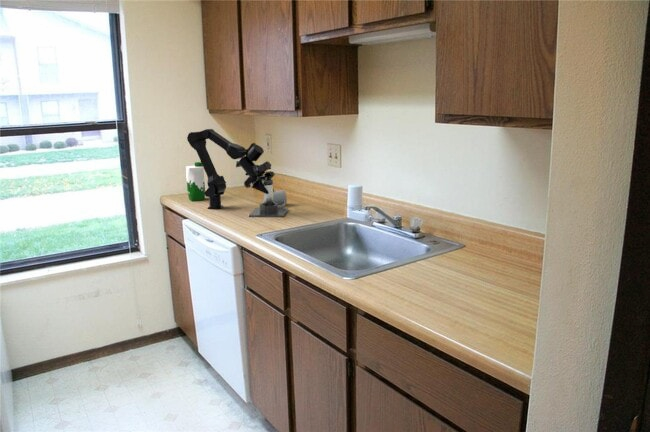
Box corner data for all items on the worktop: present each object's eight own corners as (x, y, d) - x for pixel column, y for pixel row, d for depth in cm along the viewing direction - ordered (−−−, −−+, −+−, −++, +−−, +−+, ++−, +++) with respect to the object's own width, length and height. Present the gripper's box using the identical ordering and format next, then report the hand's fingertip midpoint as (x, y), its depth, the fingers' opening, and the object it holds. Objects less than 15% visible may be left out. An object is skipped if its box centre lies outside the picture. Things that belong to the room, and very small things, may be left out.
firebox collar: (255, 209, 252) (255, 200, 251) (288, 209, 251) (288, 201, 250) (248, 216, 236) (248, 207, 235) (283, 217, 235) (283, 207, 234)
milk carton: (206, 200, 276) (204, 163, 272) (189, 201, 273) (187, 164, 268) (203, 197, 284) (201, 161, 280) (186, 199, 280) (184, 162, 276)
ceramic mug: (267, 204, 264) (266, 189, 262) (282, 203, 267) (282, 188, 265) (273, 208, 254) (273, 193, 252) (289, 207, 257) (289, 192, 255)
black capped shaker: (262, 205, 244) (262, 179, 241) (271, 205, 245) (271, 179, 243) (265, 207, 240) (264, 181, 237) (274, 206, 242) (274, 180, 239)
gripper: (248, 158, 231) (270, 184, 229) (270, 154, 247) (291, 178, 245) (234, 174, 236) (255, 200, 234) (257, 169, 253) (277, 193, 250)
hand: (270, 192), depth 241 cm, fingers closed on black capped shaker, 4 cm apart
